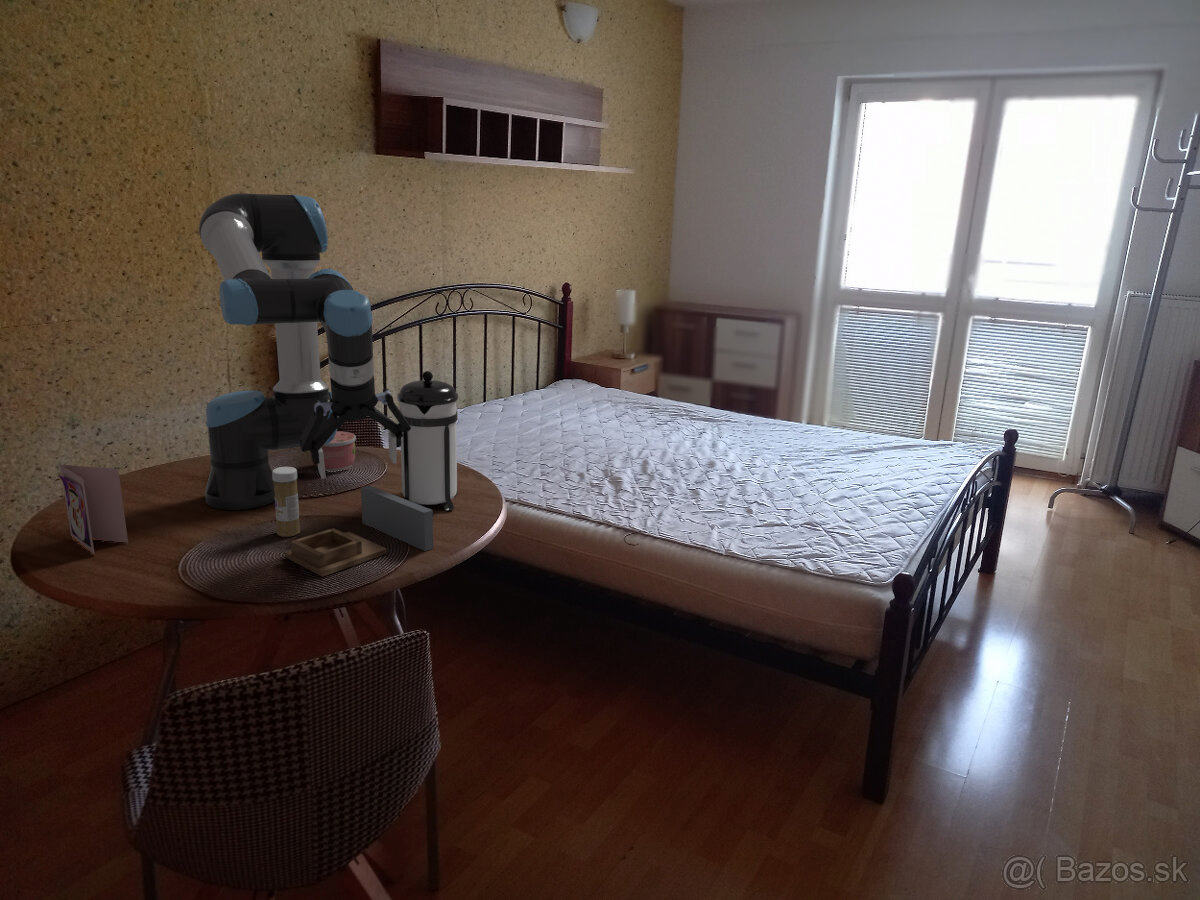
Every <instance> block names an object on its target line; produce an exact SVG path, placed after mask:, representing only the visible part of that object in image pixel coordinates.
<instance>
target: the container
mask: <svg viewBox="0 0 1200 900" xmlns="http://www.w3.org/2000/svg"><path fill="white" fill-rule="evenodd" d="M356 438H357V436H356V435H355V434H354V433H352V432H347V431H340V430H339V431H338V430H337V432H336V435H335V437H334V439H333V440H332V441H331V442H329V443H327V444H324V445H323V446H322V450H323V454H324V465H325V470H329V471H336V470H337V471H338V470H344V469H348V468H349V467H351V468H352V465H353V464H354V462H355V459H356V443H355V442H356V440H357V439H356ZM315 466H316V467H318V464H315Z"/></svg>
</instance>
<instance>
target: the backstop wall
mask: <svg viewBox="0 0 1200 900" xmlns="http://www.w3.org/2000/svg"><path fill="white" fill-rule="evenodd" d="M360 495H361V497H360V498H361V515H362V516H361V517H362V519H361V521H362V524H363V523H364V524H366V525H365V526H367V525H368V526H367V527H369V526H370V527H369V528H371V527H373V528H375V529H374V530H376V529H377V530H376V531H378V530H379V532H380V531H382V532H381V533H383V532H384V533H383V534H385V533H386V534H385V535H387V534H388V535H387V536H389V535H390V536H389V537H392V538H394V539H396V538H397V539H396V540H398V539H399V541H401V540H402V541H401V542H403V541H404V542H403V543H405V542H406V543H405V544H407V543H408V545H411V547H415V548H416V549H418V550H421V551H424V552H427V551H430V550H433V549H434V524H433V523H434V520H433V519H434V513H433V509H431V508H428V507H425V506H423V505H422V504H417V503H413V502H411V501H408V500H406V499H404V497H400V496H398V495H395V494H393V493H390V492H387V491H385V490H382V489H380V488H377V487H375V486H372V485H370V484H369V485H365V486H362V487H360ZM364 524H363V525H364ZM373 528H372V529H373Z"/></svg>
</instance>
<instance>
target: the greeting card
mask: <svg viewBox="0 0 1200 900" xmlns="http://www.w3.org/2000/svg"><path fill="white" fill-rule="evenodd" d="M59 467H60V474H61V475H60V474H58V477H59V478H60V480H61V481H62V487H63V493H64V499H65V506H66V513H67V519H68V520H67V521H68V525H69V530H70V531H69V532H70V537H71V536H72V537H74V538H75V539H76V540H77V541H79V542H80V543H81V544H82V545H84V546H85V547H86V548H87V549H89V550H90V551H91V552H92V553H93V554H95V549H94V541H93V540H92V538H95V539H102V540H109V541H117V542H127V543H126V544H129V541H128V540H129V539H128V532H127V525H126V517H125V511H124V504H123V502H124V501H123V496H122V488H121V487H122V486H121V480H120V473H119V468H111V467H97V466H85V465H84V466H83V465H71V464H70V465H69V464H59Z"/></svg>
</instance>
